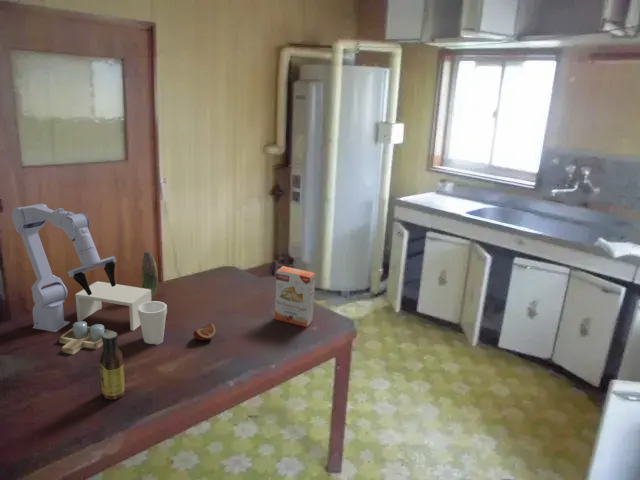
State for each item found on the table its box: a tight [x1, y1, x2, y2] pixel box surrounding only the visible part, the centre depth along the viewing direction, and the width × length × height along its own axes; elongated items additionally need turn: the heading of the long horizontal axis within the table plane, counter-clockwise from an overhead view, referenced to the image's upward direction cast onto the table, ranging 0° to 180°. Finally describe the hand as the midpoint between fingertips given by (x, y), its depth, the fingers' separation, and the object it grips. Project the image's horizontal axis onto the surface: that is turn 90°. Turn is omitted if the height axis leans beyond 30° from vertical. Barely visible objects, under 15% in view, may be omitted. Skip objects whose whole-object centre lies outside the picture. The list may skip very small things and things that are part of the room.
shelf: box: [74, 280, 152, 331], centre depth 196 cm, size 22×13×11 cm, turn 78°
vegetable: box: [141, 251, 159, 299], centre depth 215 cm, size 6×6×20 cm
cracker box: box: [273, 265, 317, 328], centre depth 203 cm, size 14×6×21 cm, turn 68°
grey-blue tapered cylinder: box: [89, 323, 105, 342], centre depth 181 cm, size 4×4×4 cm
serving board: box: [58, 325, 115, 355], centre depth 179 cm, size 14×15×2 cm
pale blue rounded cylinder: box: [72, 320, 88, 339], centre depth 183 cm, size 4×4×4 cm
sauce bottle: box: [99, 330, 126, 401], centre depth 151 cm, size 6×6×20 cm
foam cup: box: [138, 300, 168, 346], centre depth 183 cm, size 10×9×13 cm
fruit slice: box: [192, 322, 217, 341], centre depth 187 cm, size 8×7×5 cm
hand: (102, 290), depth 169 cm, fingers open, 7 cm apart
